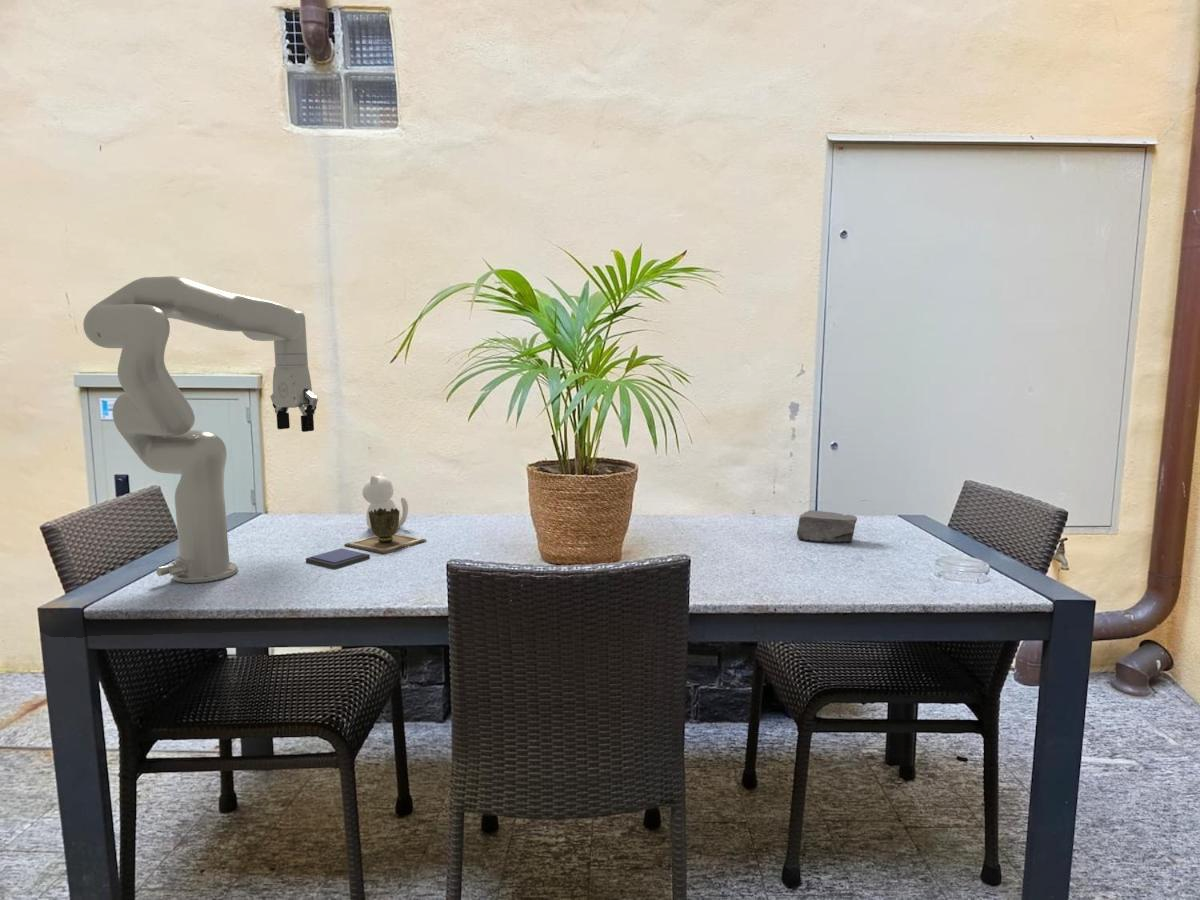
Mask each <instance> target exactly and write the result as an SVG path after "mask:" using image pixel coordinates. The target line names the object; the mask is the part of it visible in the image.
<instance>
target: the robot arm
mask: <svg viewBox="0 0 1200 900" xmlns="http://www.w3.org/2000/svg"><path fill="white" fill-rule="evenodd" d="M169 319H173V320H179V321H182V322H185V323H191V324H195V325H199V326H202V327H205V328H208V329H209V328H210V329H212V330H217V331H227V332H242V334H243V336H245V337H247V338H248V339H250V340H252V341H258V342H271V341H272V342H273V346H274V347H273V349H274V350H273V353H274V364H275V365H274V367H273V368H274V369H273V373H272V374H273V376H272V394H271V395H270V399H271V402H272V407H273V408H274V413H275V414H276V425H277V426H276V427H277V430H288V429H290V427H291V426H290V425H291V424H290V413H289V412H288V411H289V409H291V408H293V409H296V408H298V409H299V411H300V413H301V414H302V415H300V426H301V429H300V430H301V432H303V433H305V432H314V430H315V423H314V416H315V415H316V414H315V413H316V412H315V411H316V409H317V404H318V401H319V399H318V397H317V395H314V393H313V387H312V381H311V380H312V379H311V375H310V369H309V362H308V361H309V360H308V345H307V343H308V341H307V329H306V328H307V327H306V324H307V323H306V316H305V314H304V312H302V311H299V310H294V309H293V308H291V307H288V306H286V305H283V304H280V303H278V302H277V303H276V302H274V301H270V300H265V299H261V298H256V297H251V296H247V295H246V296H245V295H242V294H237V293H233V292H232V293H231V292H227V291H224V290H219V289H217V288H215V287H211V286H208V285H205V284H203V283H199V282H196V281H193V280H191V279H187V278H185V277H180V276H171V275H170V276H169V275H168V276H147V277H146V276H145V277H140V278H138V279H136V280H133V281H131V282H130V283H128V284H126V285H124V286H122V287H121V288H120V289H118V290H116V291H115V292H113V293H112V294H110V295H109V296H108V297H106V298H104V299H102V300H101V301H99V302H97V303H96V304H95V305H93V306H92V307H91V308H90V309H89V310H88V311H87V312H86V314H85V316H84V318H83V323H82V325H83V331H84V333H85V335H86V337H87V339H88V340H89V341H90V342H92V343H93V344H94V345H96V346H98V347H101V348H106V349H121V353H120V356H119V361H118V365H117V366H118V367H117V377H118V382H119V383H120V386H121V388H122V389H123V391H124V392H123V393H121V394H120V395H119V396H118V397H117V398H116V399H115V400H114V403H113V405H112V418H113V424H114V425H115V427H116V429H117V431H118V432H119V434H120V435H121V437H123V439H124V440H125V441H126V443H127V444H128V445H129V447H131V449H132V451H133V452H134V453H135V454H136V456H137V457H138V458H139V459H140V460H141V462H142V463H143V464H144V465H145V466H146V467H147V468H149V469H150V470H152V471H153V472H156V473H161V474H171V475H180V479H179V481H178V483H177V485H176V488H175V493H174V508H175V516H176V517H175V519H176V530H177V531H176V532H177V541H178V542H177V543H178V553H179V554H178V555H179V556H177V557H174V561H173V562H171V564H168V565H166V564H165V565H161V566H157V567H156V570H155V571H156V575H157V576H158V577H162V576H165V575H170V576H172V578H173V580H174V581H175V582H178V583H184V584H185V583H186V584H197V583H198V584H200V583H206V582H207V583H209V582H213V581H214V580H215V581H219V580H222V579H226V578H228V577H231V576H233V575H235V574H236V573H238V570H239V569H238V565H237V564H236V563H234V562H231V561H230V555H229V541H228V540H229V539H228V529H227V528H228V526H227V516H226V515H227V514H226V511H227V510H226V500H225V470H226V465H227V464H226V463H227V448H226V447H227V446H226V444H225V442H224V441H223V439H222V438H221V437H220V436H219V435H217V434H214V433H213V432H209V431H205V430H198V429H197V430H194V429H192V428H193V426H194V425H195V422H196V418H195V413H194V410H193V408H192V407H191V405H190V402H189V401H188V400H187V398H186V397H185V395H184V394H183V392H182V391H181V390H180V388H179V387H178V386H177V384H176V382H175V381H174V379H173V378H172V376H171V375H170V373H169V370H167V366H166V363H165V352H166V351H165V350H166V346H167V345H168V344H167V343H168V339H169V337H170V331H171V326H170V321H169ZM218 579H219V580H218ZM208 581H209V582H208Z"/></svg>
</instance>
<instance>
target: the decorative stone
mask: <svg viewBox="0 0 1200 900" xmlns="http://www.w3.org/2000/svg"><path fill="white" fill-rule="evenodd" d="M857 519H858V518H857V516H855V515H852V514H842V513H837V512H831V511H823V510H815V509H812V510H807V511H805V512H803V514H800V516H799V518H798V525H797V530H796V536H797V539H798V540H799V541H801V542H808V543H817V544H830V545H831V544H833V545H835V544H850V543H852V541H853V539H854V533H855V529H856V523H857Z"/></svg>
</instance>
